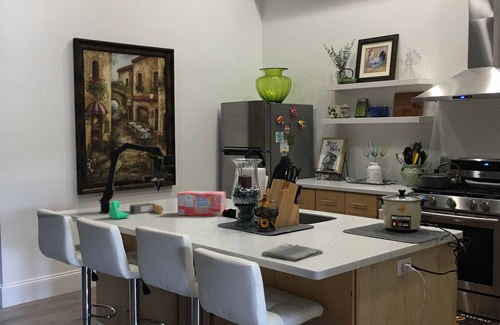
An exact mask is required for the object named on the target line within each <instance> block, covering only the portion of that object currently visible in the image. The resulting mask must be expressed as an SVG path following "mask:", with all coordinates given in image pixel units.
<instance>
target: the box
mask: <svg viewBox="0 0 500 325" xmlns="http://www.w3.org/2000/svg"><path fill="white" fill-rule="evenodd" d="M176 194H177V197H176V198H177V202H176V203H177V215H178V216H194V217H197V216H198V217H222V216H223V215H222V213H223V211H224V210H226V211H227V199H226V198H227V194H226V191H218V190H217V191H214V190H213V191H212V190H211V191H210V190H208V191H207V190H203V191H202V190H200V191H199V190H181V191H179V192H177V193H176Z"/></svg>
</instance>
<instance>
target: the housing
mask: <svg viewBox="0 0 500 325" xmlns="http://www.w3.org/2000/svg"><path fill="white" fill-rule="evenodd" d="M154 204H155V203H152V202H147V203H146V202H144V203H143V202H142V203H135V204H130V205H129V214H133V215H139V214H140V215H142V214H147V213H148V214H150V213H155V212H154Z"/></svg>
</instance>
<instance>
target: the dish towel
mask: <svg viewBox="0 0 500 325" xmlns="http://www.w3.org/2000/svg"><path fill="white" fill-rule="evenodd" d="M323 252H324V251H323V250H321V249H320V248H318V249H317V248H312V247H308V246H302V245H298V244H295V245H293V244H290V243H287V242H284V243H282V244H280V245H279V244H278V245H277V246H274V247H272V248H269V249H267V250H264V251H262V253H261V256H263V257H268V258H272V259H274V258H275V259H279V260H285V261H291V262H296V263H297V262H300V261H304V260H307V259H310V258H313V257H316V256H320V255H323Z"/></svg>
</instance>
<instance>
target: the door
mask: <svg viewBox="0 0 500 325" xmlns="http://www.w3.org/2000/svg"><path fill="white" fill-rule="evenodd" d="M153 204H154V212H153V213H156V214H160V215H162V214H163V211H164V208H163V206H162V205H159V204H157V203H153Z"/></svg>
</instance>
